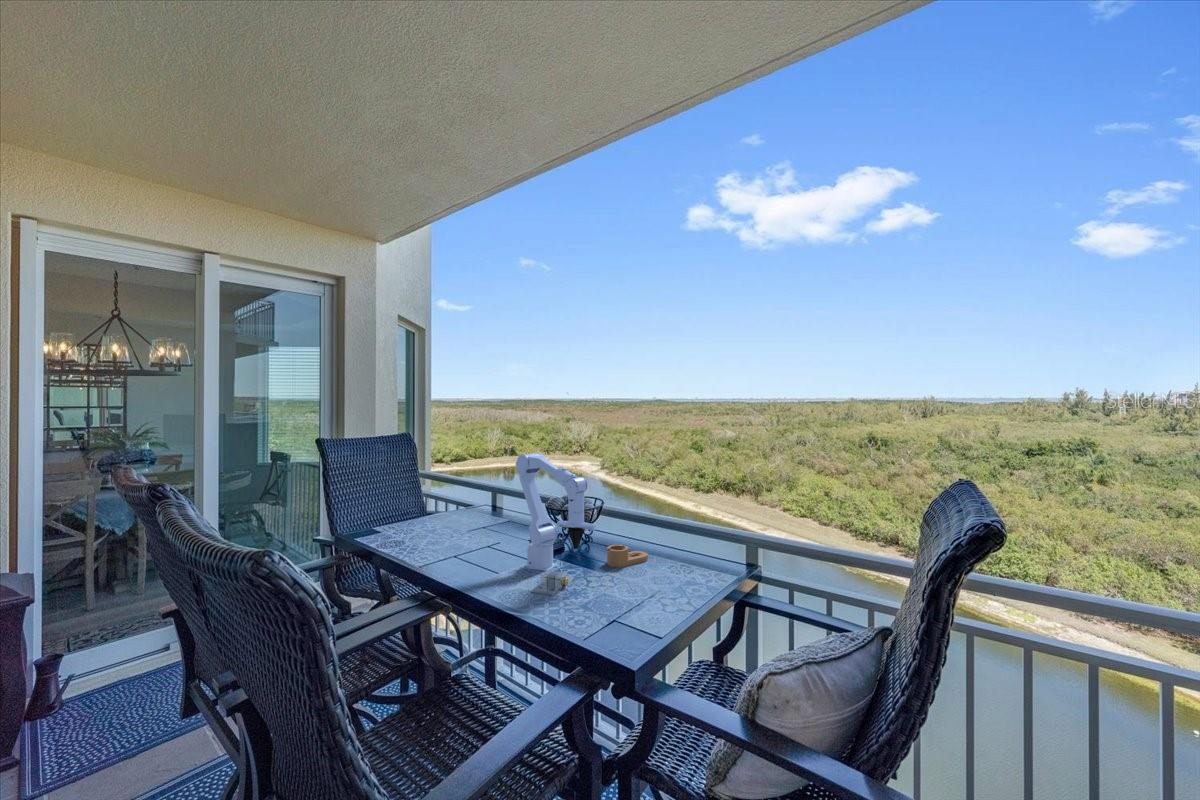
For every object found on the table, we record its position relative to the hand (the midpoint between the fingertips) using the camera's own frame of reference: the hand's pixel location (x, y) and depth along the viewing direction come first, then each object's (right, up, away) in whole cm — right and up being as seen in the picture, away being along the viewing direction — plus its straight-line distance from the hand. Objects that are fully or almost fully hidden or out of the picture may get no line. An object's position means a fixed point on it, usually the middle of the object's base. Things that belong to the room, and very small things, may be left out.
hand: (576, 548), depth 173 cm
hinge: (-7, -10, -8) cm, 15 cm away
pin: (-7, -10, -8) cm, 15 cm away
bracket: (+20, -11, +16) cm, 28 cm away
